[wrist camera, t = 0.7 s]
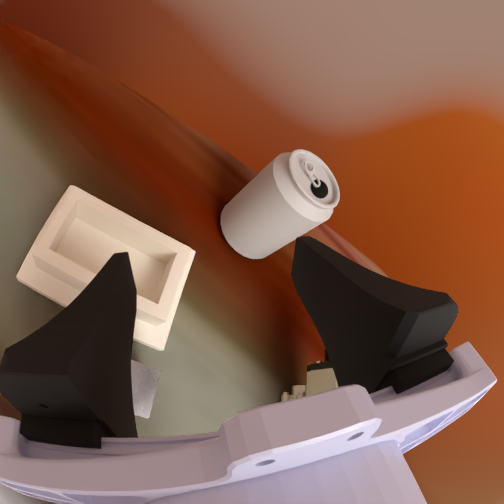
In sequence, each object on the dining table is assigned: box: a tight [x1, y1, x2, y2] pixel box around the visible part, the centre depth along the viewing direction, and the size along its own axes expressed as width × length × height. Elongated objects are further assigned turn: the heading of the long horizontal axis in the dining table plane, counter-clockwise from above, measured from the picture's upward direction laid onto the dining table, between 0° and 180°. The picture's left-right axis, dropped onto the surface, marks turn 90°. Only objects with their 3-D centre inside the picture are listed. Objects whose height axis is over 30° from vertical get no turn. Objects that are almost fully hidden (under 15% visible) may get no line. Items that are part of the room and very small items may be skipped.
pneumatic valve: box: [281, 349, 338, 402], centre depth 24 cm, size 6×12×12 cm, turn 175°
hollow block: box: [16, 185, 195, 351], centre depth 22 cm, size 10×14×4 cm
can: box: [220, 149, 340, 259], centre depth 30 cm, size 8×8×12 cm
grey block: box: [131, 359, 162, 419], centre depth 17 cm, size 4×8×6 cm, turn 76°
